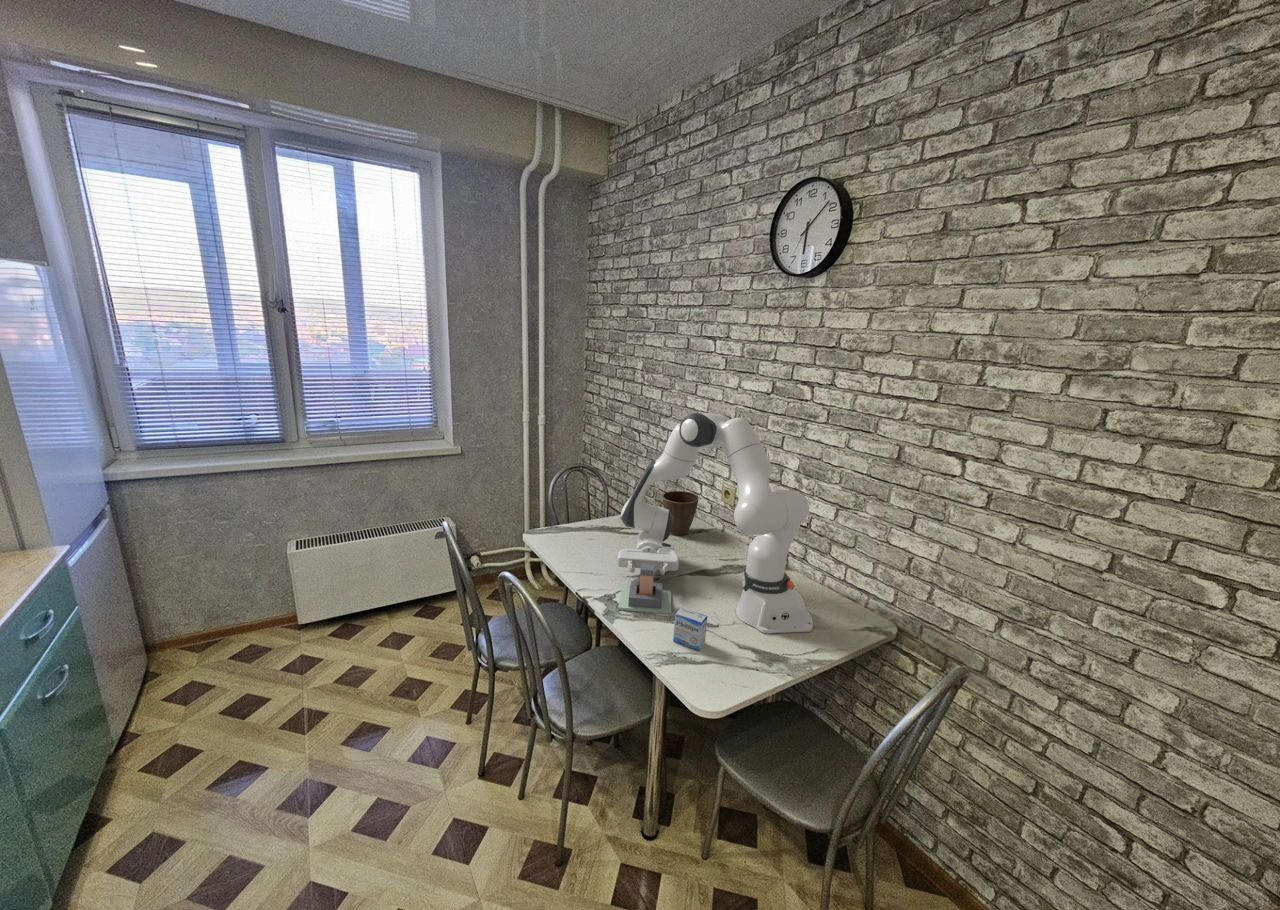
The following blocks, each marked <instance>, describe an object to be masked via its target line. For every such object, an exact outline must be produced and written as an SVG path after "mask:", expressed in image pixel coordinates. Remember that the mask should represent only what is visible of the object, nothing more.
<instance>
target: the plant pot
mask: <svg viewBox="0 0 1280 910" xmlns="http://www.w3.org/2000/svg"><path fill="white" fill-rule="evenodd" d="M662 504H663V505H662V506H663V508H665V509H667V510H669V511H670V512H671V514H672V516H673V525H672V530H671V533H670V535H673V536H677V537H683V536H686V535H688V532H689V531H690V529H691V526H692V524H693V521H694V518H695V516H696V511H697V508H698V504H699V496H698V495H697V494H695V493H693V492H688V491H684V490H683V491H682V490H674V491H672V490H671V491H668V492H664V493H663V494H662Z"/></svg>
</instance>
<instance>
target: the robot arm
mask: <svg viewBox="0 0 1280 910" xmlns="http://www.w3.org/2000/svg"><path fill="white" fill-rule="evenodd" d="M701 448H708V449H714V448H722V450H723V452H724V454H725V456H726V457H725V458H726V459H727V461H728V464H729V466H730V468H731V470H732V473H733V476H734V477H735V481H736V484H737V490H738V501H737V504H736V506H735V508H734V512H733V520H734V523H735V527H736V528H737V529H738V531H739V532H740V533H742V534H743V535H745V536H750V537H753V536H754V539H753V540H752V541H751V542H750V543H749V545H748V549H747V557H746V558H747V559H746V565H745V566H746V567H745V568H744V571H743V576H742V590H741V595H740V599H739V601H738V604H737V606H736V608H735V614H736V616H737V618H739V619H740V621H742V622H743V623H745V624H747V625H748V626H751V627H753V628H755V629H757V630H758V631H759V632H761V633H763V634H783V633H785V634H787V633H806V632H807V633H809V632H811V631H812V630H813V628H814V622H813V618H812V615H811V614H810V612H809V611H808V609H807V608H806V604H805V601H804V599H803V597H802V596H801V594H800V593H799V592H797V591H796V590H795V588H796V587H795V583H794V581H792V580H791V578H790V576H789V575H788V574H787V572H786V564H787V559H788V553H789V550H790V548H791V544H792V542H793V541H794V538H795V535H797V534H796V533H797V531H798V530H799V528H800V526H801V525H802V523H803V522H804V521H805V520H806V518H807V517H808V516H809V513H810V503H809V501H808V499H807V497H806V496H805V495H804V494H803V493H802V492H801V491H798V490H792V489H791V490H790V489H782V490H777V491H771V490H772V489H771V487H770V476H771V475H772V473H773V466H772V463H771V460H770V459H769V457H768V455H767V453H766V450H765V448H764V446H763V444H762V442H761V441H760V438H759V436H758V435H757V433H756V431H755V430H754V429H753V427H752V426H751V424H750V422H748V421H747V420H746V419H745V418H743V417H732V416H729V415H727V414H719V413H714V412H694V413H693V412H692V413H690V414H688V415H686V416H684V417H683V419H681V422H679V423H678V424H676V425H675V426H674V428H673V430H672V432H671V434H670V435H669V437H668V440H667V441H666V444H665V445H664V450H663V452H662V453H661V455H660V456H659V457H658V458H657V459H656V460H655V459H654V460H651V461H650V462H649V463H648V465H647V466H646V468H645V470H644V471H643V473H642V474H641V476H640V478H639V480H638V482H637V484H636V485H635V487H634V489H633V491H632V493H631V495H630V496H629V498H628V499H627V501H625V504H624V505H623V507H622V509H621V512H620V519H621V522H622V524H623V525H624V527H626V528H631V529H637V530H639V533H638V536H637V541H636V542H637V544H636V547H635V548H622V549H620V550H618V553H617V559H616V565H617V566H618V567H619V568H626V569H628V570H629V573H635V569H641V564H654V571H659V572H658V573H659V575H661V576H664V575H665V573H666V572H668V571H669V572H670V571H672V572H676V571H678V570H679V565H680V564H679V563H680V562H679V556H678V552H677V551H675V550H676V549H675V545H674V544H669V543H665V541H666V540H668V539H669V537H670V536H671V530H672V525H673V516H672V514H671V512H670V511H669V510H667V509H665V508H664V507H661V506H659V505H658V506H657V505H653V504H650V503H647V502H644V501H643V499H644V498H645V497H644V496H645V495H646V493H647V491H648V490H649V487H650V486H651V485H652V484H655V483H657V482H660V481H676V480H681V479H683V478H685V477H686V476H688V475H689V474H690V473H691V471H692V469H693V467H694V465H695V462H696V459H697V455H698V454H699V451H700V449H701Z"/></svg>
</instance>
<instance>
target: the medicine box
mask: <svg viewBox="0 0 1280 910" xmlns="http://www.w3.org/2000/svg"><path fill="white" fill-rule="evenodd" d="M707 623H708V615H705V614H703V613H700V612H697V611H694V610H691V609H688V608H684V607H682V606H681V607H680V608H679V609H678V610H677V612H676V613H675V616H674V628H673V636H672V637H673V638H672V641H673V642H674V643H676V644H679V645H682V646H685V647H688V648H691V649H693V650H696V651H700V650H701V649H702V647H703V646H704V644H705V643H706V635H707V634H706V633H707V627H708V626H707Z"/></svg>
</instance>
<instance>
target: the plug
mask: <svg viewBox="0 0 1280 910" xmlns="http://www.w3.org/2000/svg"><path fill="white" fill-rule="evenodd" d="M654 572H655V570H654V564H641V568H640V573H639V582H640V589H639V595H648V596H652V590H653V583H654V574H655V573H654Z"/></svg>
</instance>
